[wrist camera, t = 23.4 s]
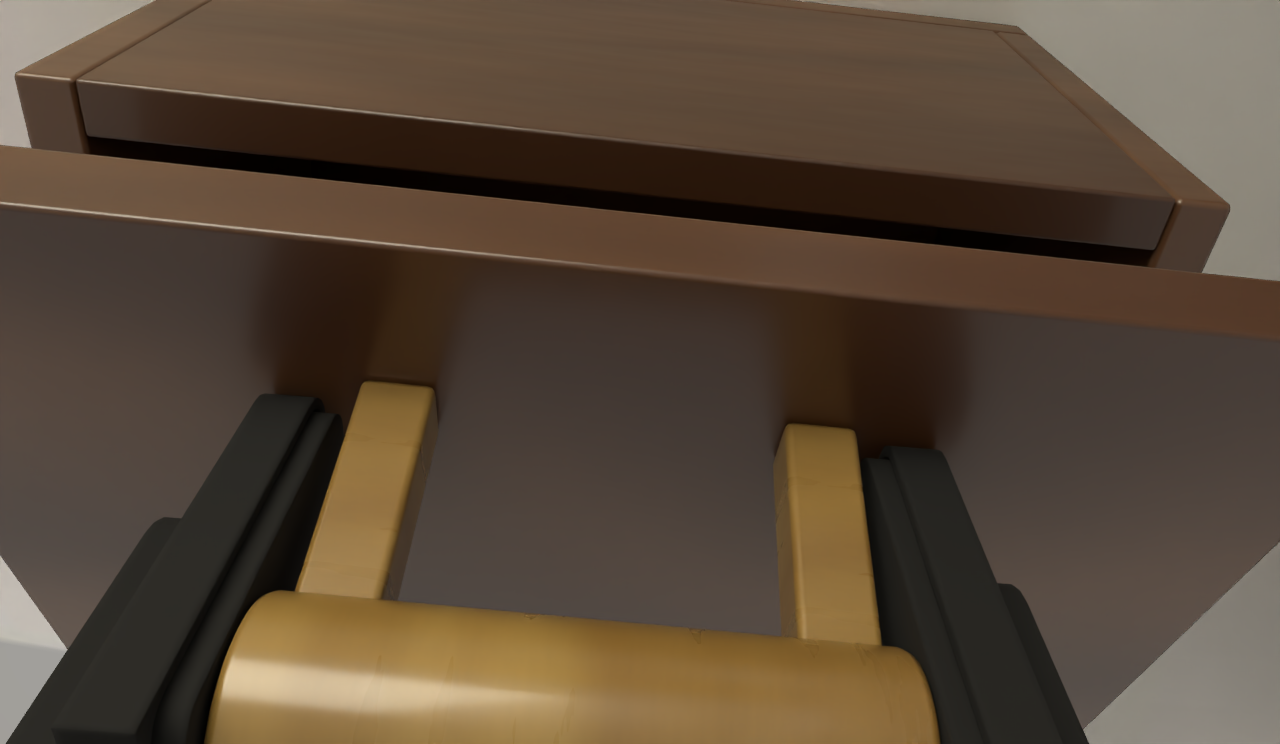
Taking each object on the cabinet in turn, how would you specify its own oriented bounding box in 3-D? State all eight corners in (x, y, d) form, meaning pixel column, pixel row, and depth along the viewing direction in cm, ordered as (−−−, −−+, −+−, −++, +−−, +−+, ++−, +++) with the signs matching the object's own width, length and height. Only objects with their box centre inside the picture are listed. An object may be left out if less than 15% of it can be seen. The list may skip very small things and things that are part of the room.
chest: (269, -61, 19) (11, 72, 11) (1019, 25, 19) (1235, 206, 12) (314, 427, 25) (166, 716, 17) (881, 482, 25) (967, 786, 18)
